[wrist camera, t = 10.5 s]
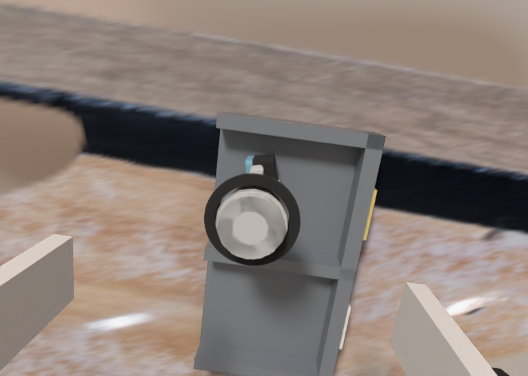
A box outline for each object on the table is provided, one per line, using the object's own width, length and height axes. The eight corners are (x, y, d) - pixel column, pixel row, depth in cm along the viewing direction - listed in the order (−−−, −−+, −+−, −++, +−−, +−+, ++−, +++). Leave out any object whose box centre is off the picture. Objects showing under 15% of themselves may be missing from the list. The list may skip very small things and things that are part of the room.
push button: (298, 227, 29) (306, 293, 19) (234, 231, 29) (210, 298, 19) (292, 147, 27) (297, 175, 17) (225, 152, 27) (193, 182, 18)
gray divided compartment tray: (201, 344, 33) (193, 368, 30) (224, 112, 28) (217, 113, 25) (329, 364, 33) (333, 389, 30) (378, 132, 27) (389, 137, 24)
